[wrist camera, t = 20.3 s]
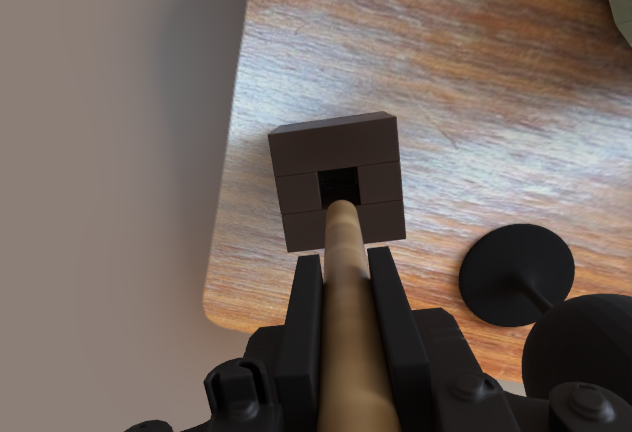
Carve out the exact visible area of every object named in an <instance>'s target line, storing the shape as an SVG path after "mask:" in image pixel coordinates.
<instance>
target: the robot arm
mask: <svg viewBox="0 0 632 432" xmlns="http://www.w3.org/2000/svg"><path fill="white" fill-rule="evenodd" d="M367 252H368V261H369V270H370V279H371V285H372V290H373V295H374V300H375V305H376V310H377V315H378V320H379V325H380V330H381V335H382V340H383V345H384V350H385V355H386V360H387V365H388V370H389V375H390V380H391V385H392V390H393V395H394V400H395V405H396V410H397V414H398V416H399V419H400V422H401V427H402V432H632V406H631V405H629V404H628V403H627V402H626V401H625V400H624V399H622V398H621V397H619V396H618V395H616V394H615V393H613V392H611V391H610V390H608V389H605V388H602V387H600V386H597V385H595V384H589V383H583V382H565V383H562V384H560V385H557V386H555V387H554V388H553V389H552V391H551V392H550V393H549V400H545V399H538V398H531V397H524V396H519V395H515V394H512V393H509V392H507V391H504V390H503V389H502V387H501V386H500V385H499V383H498V382H497V380H495V379H494V378H492V377H491V376H489V375H488V374H486V373H483V371H482V369H481V367H480V366H479V364H478V362H477V360H476V358H475V356H474V354H473V352H472V350H471V349H470V347H469V345H468V343H467V341H466V339H464V335H463V334H462V332H461V330H460V329H459V326H458V324H457V322H456V320H455V319H454V317H453V316H452V315H451V314H449V313H448V312H447V311H445V310H444V309H442V308H431V309H421V310H411V308H410V305H409V303H408V300H407V297H406V294H405V291H404V289H403V286H402V283H401V280H400V277H399V274H398V272H397V269H396V266H395V263H394V260H393V258H392V255H391V252H390V249H389V246H385V247H377V248H368V249H367ZM322 308H323V278H322V271H321V264H320V257H319V254H316V255H307V256H299V257H298V260H297V265H296V270H295V275H294V280H293V285H292V290H291V295H290V300H289V305H288V310H287V315H286V320H285V325H278V326H268V327H259V328H258V330H257V331H256V332H255V333H254V334H253V335H252V336H251V337H250V338H249V341H248V344H247V347H246V352H245V353H244V356H243V358H236V359H233V360H229V361H226V362H224V363H222V364H220V365H218V366H217V367H215V368H214V369H213V370H212V371H211V372H210V373H208V375H207V377H206V379H205V380H204V386H205V390H206V394H207V398H208V402H209V406H210V409H211V413H212V415H211V419H210V420H208V421H207V422H205V423H203V424H200V425H198V426H196V427H193V428H190V429H187V430H184V431H181V432H317V422H318V401H319V377H320V354H321V331H322ZM124 432H173V430H172V427H171V426H170V425H169V424H168V423H167V422H164V421H160V420H151V421H145V422H142V423H139V424H137V425H134V426H132V427H131V428H129V429H127V430H126V431H124Z"/></svg>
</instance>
